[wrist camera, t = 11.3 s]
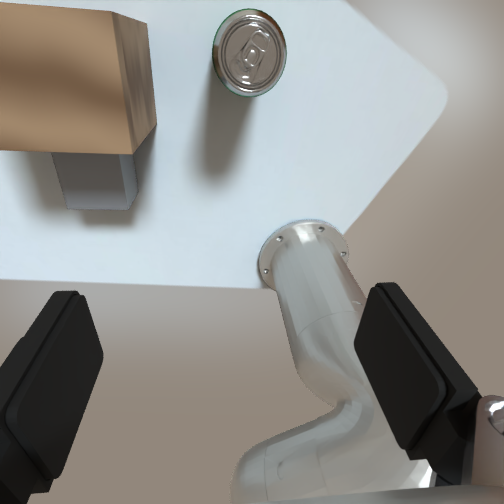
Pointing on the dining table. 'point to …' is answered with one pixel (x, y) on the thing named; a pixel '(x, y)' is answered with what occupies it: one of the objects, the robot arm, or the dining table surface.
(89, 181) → the grey u-shaped piece
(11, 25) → the shelf
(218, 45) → the soda can
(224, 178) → the dining table surface
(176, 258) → the dining table surface
